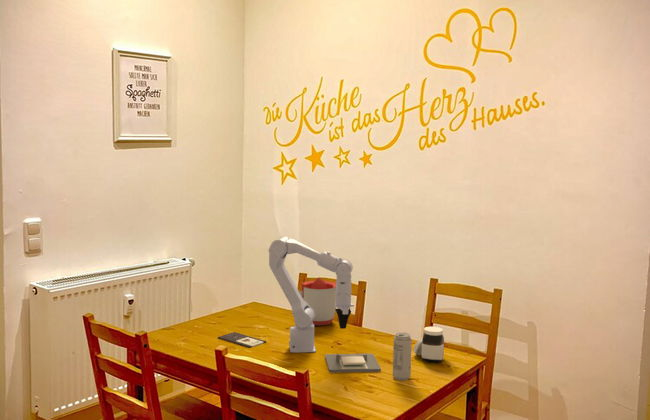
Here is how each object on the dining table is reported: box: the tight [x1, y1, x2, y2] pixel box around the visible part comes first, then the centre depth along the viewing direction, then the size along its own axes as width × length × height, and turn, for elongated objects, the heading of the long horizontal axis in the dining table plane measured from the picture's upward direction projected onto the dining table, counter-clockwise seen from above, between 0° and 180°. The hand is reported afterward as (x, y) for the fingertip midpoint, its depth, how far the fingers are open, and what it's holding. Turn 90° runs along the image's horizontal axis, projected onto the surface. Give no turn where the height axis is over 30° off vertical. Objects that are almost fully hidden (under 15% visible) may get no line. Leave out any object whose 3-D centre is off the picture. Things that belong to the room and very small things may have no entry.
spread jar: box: [412, 326, 445, 364], centre depth 243 cm, size 12×11×12 cm
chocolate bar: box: [217, 331, 267, 349], centre depth 261 cm, size 9×1×18 cm
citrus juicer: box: [299, 277, 337, 326], centre depth 286 cm, size 16×17×20 cm
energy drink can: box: [392, 332, 413, 382], centre depth 222 cm, size 6×6×15 cm
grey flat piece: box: [324, 353, 382, 374], centre depth 236 cm, size 18×16×3 cm
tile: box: [341, 356, 366, 365], centre depth 233 cm, size 8×7×1 cm
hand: (342, 328), depth 247 cm, fingers closed
